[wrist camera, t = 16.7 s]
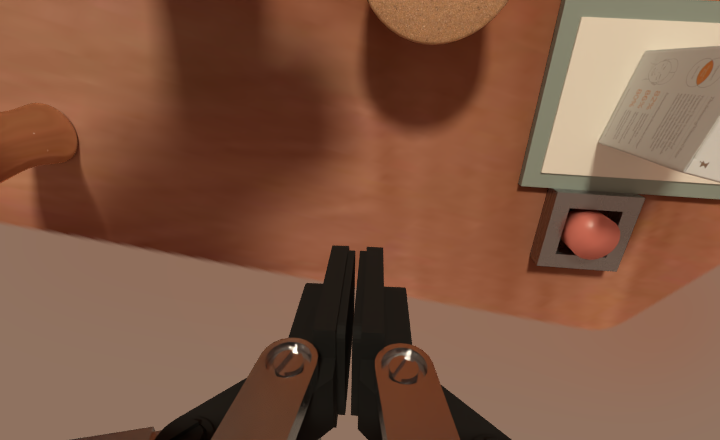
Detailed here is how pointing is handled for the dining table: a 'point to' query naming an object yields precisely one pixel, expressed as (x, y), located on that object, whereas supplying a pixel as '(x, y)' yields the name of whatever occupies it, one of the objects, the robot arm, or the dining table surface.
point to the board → (608, 94)
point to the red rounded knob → (590, 233)
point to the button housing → (560, 200)
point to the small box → (672, 111)
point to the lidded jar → (435, 18)
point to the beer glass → (34, 138)
